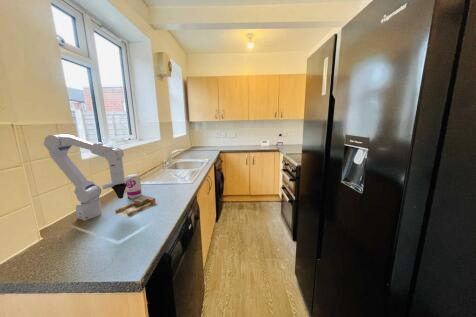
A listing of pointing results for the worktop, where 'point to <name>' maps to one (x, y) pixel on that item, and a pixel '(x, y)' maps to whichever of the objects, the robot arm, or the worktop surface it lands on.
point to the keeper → (141, 201)
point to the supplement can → (133, 187)
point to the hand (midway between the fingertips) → (120, 197)
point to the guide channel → (134, 208)
